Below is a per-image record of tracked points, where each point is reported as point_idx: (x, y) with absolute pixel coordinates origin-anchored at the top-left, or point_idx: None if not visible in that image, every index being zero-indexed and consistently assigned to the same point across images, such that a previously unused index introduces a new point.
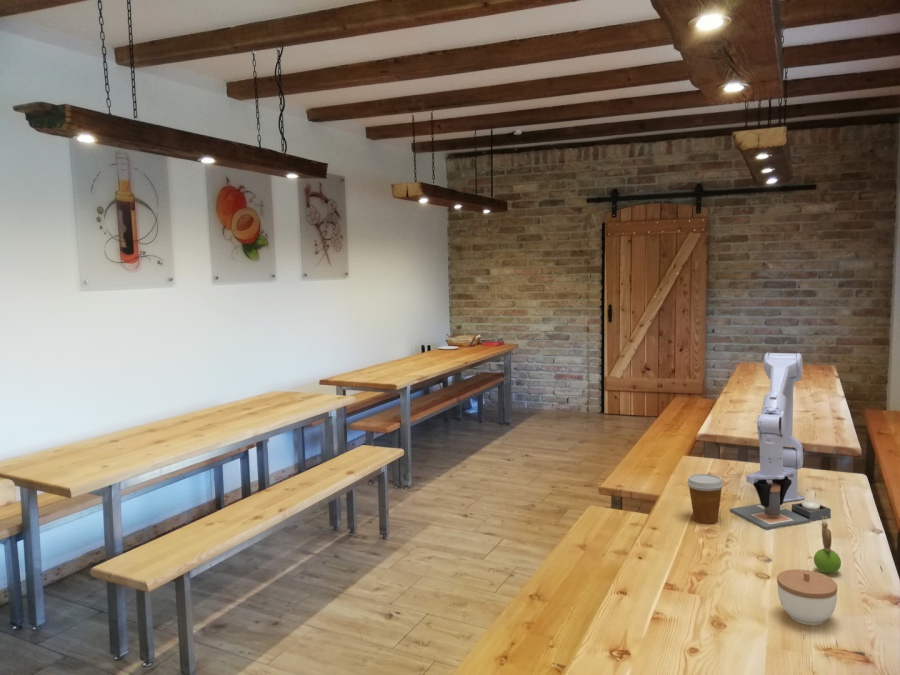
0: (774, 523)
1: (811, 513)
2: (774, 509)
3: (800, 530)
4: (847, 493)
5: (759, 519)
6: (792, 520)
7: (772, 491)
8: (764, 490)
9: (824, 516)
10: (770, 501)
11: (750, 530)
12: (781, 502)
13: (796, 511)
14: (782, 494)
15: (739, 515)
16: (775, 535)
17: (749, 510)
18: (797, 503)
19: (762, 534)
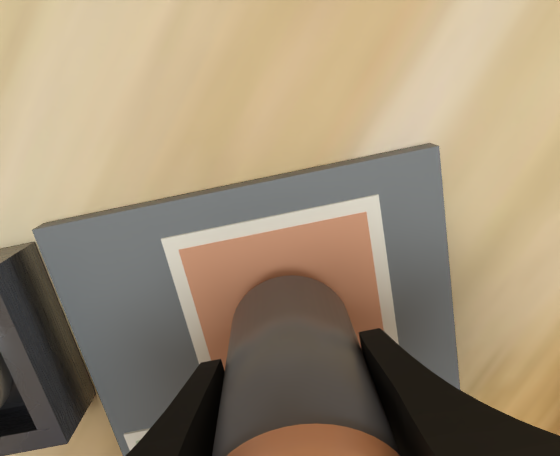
0: (334, 203)
1: None
2: (308, 300)
3: (182, 89)
4: None
5: (394, 294)
6: (170, 237)
7: (362, 442)
8: (551, 433)
9: None
10: (352, 358)
11: (538, 157)
12: (210, 370)
13: (67, 375)
14: (189, 427)
15: None
16: (424, 24)
17: None
18: (15, 452)
19: (505, 64)
